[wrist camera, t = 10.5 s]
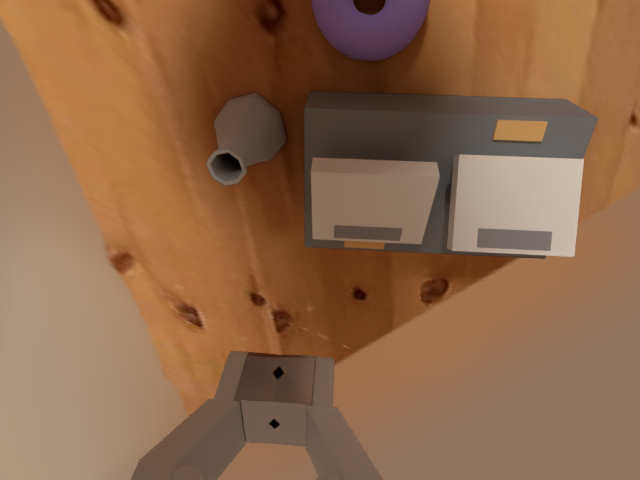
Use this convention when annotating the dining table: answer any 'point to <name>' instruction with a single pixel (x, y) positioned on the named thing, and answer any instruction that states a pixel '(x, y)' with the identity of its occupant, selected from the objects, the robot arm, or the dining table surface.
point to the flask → (245, 137)
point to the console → (435, 143)
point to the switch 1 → (372, 199)
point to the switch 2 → (514, 204)
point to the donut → (370, 27)
